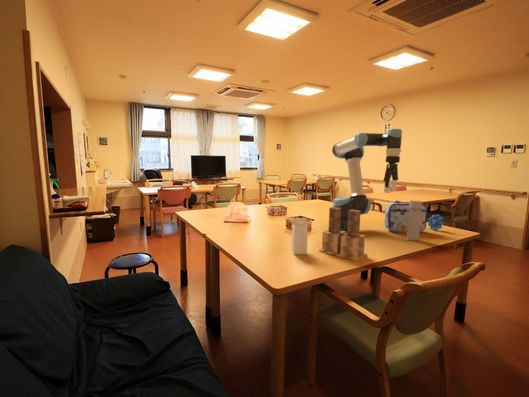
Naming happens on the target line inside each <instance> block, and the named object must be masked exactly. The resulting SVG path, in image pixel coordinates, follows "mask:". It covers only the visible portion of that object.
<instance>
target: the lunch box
mask: <svg viewBox="0 0 529 397" xmlns="http://www.w3.org/2000/svg"><path fill="white" fill-rule="evenodd" d="M409 203H410V201H407V202H406V201H400V200H397V199H396V200H395V202H388V203H387V204H386V205H385V208H384V212H385V213H384V228H385V229H387V230H389V231H390V232H392V233H400V234H401V233H406V234H407V231H406V230H407V227H408V221H407V217H406V215H407V213H408V214H409V209H410V208H409ZM407 208H408V212H407ZM421 210H422V211H421V223H420V233H422V232H424V231H426V229H427V228H426V227H427V219H428V218H427V217H428V207H427V205H426V204H423V203H422V209H421ZM405 220H406V222H405ZM404 225H405V227H404ZM404 230H405V231H406V232H404Z"/></svg>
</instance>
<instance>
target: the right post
mask: <svg viewBox="0 0 529 397" xmlns="http://www.w3.org/2000/svg"><path fill="white" fill-rule="evenodd" d="M360 212H361V211H360V210H353V209H352V210H349V211H348V229H347V232H346V233H347V236H350V237H355V238H356V237H359V234H360V226H361V225H360V224H361V215H360Z"/></svg>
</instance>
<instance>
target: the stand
mask: <svg viewBox="0 0 529 397" xmlns="http://www.w3.org/2000/svg"><path fill="white" fill-rule="evenodd" d="M365 241H366V235H364V234H361V233H359V237H356V238H355V237H350V236H347V232H345V231H340V233H337V234H335V233H330V232H329V229H327V230H324V231H322V244H321V248H320V249H318V251H319V252H320V253H323V254H324V253H325V254H328V255H331V256H334V257H339V258H344V259H347V260H350V261H354V262H358V261H360V260H362V259H364V258H366V256H368V253H367V252H365V243H366V242H365Z"/></svg>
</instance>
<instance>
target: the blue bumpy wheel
mask: <svg viewBox="0 0 529 397" xmlns="http://www.w3.org/2000/svg"><path fill="white" fill-rule="evenodd" d="M444 224H445V222H444V217H442V216H441V215H440V214H433V215H431V217H429V218H428V222H427V226H429V229H430V230H434V231H438V230H441V229H442V227H443V226H444Z"/></svg>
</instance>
